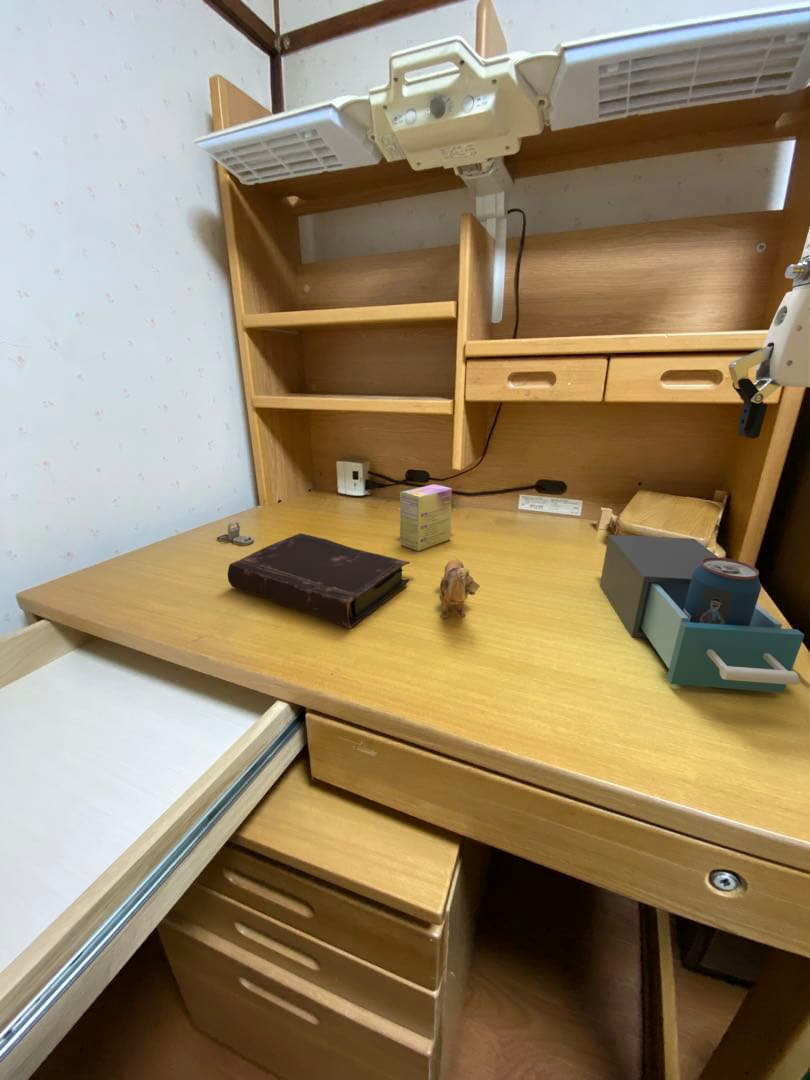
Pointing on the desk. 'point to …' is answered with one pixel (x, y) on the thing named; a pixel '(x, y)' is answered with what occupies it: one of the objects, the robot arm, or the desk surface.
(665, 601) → the teal drawer
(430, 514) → the box
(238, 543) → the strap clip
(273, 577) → the diary
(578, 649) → the desk surface
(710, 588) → the soda can
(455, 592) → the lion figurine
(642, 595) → the drawer cabinet casing
